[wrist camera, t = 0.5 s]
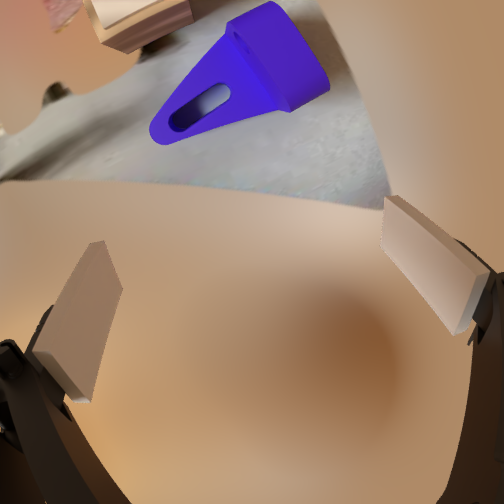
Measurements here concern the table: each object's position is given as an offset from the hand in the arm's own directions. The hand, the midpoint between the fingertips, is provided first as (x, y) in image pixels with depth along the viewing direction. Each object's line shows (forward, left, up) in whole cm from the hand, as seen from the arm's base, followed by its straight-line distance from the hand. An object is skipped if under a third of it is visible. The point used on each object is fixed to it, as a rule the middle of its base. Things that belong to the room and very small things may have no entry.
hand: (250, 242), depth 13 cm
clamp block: (-23, -2, -27) cm, 35 cm away
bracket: (-7, +2, -27) cm, 28 cm away
